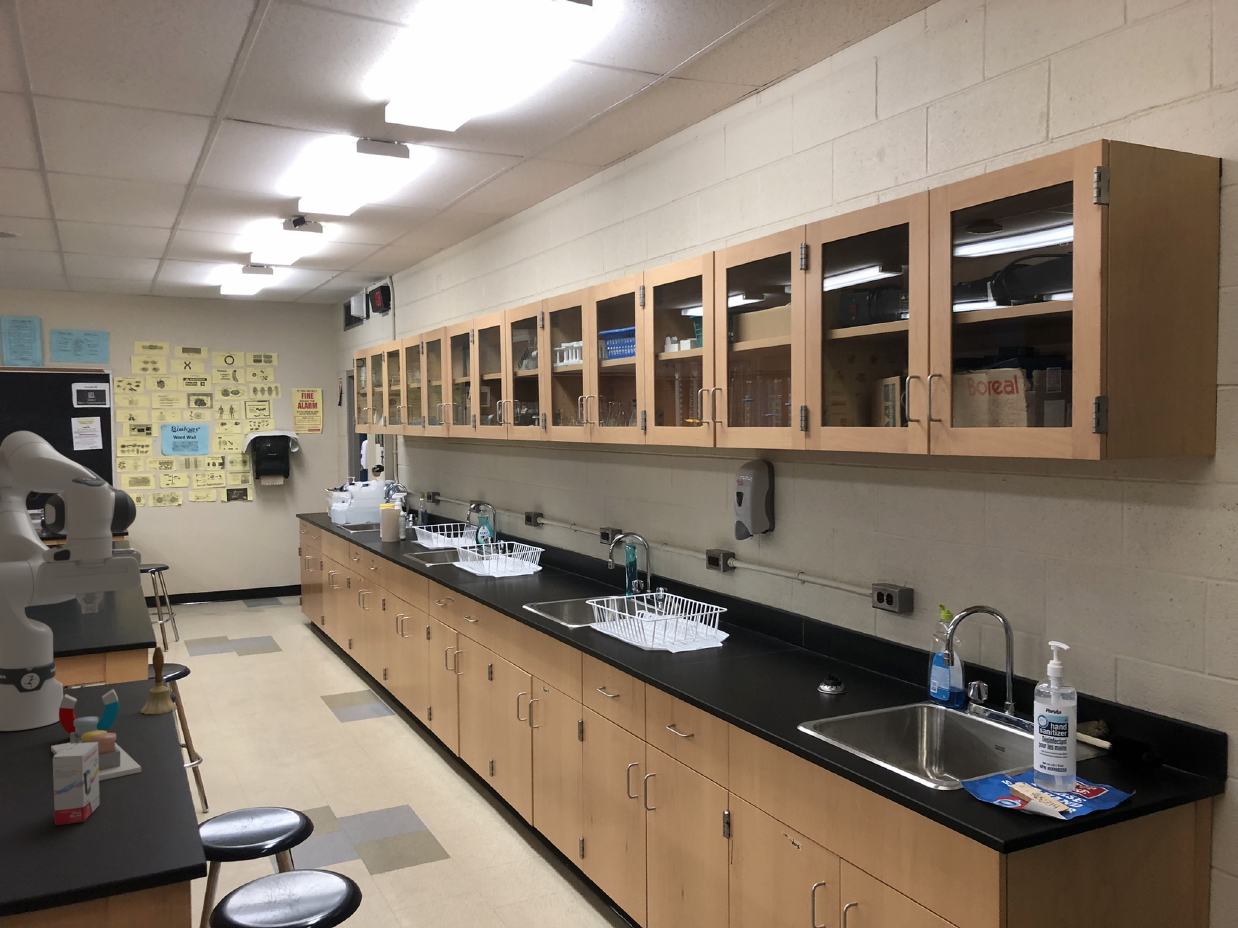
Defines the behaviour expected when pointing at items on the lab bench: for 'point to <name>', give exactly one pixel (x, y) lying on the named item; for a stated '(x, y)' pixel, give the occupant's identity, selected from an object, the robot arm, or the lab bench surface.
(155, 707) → the hand bell
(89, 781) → the ink box
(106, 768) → the console
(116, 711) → the magnet
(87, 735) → the ochre button
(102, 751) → the terracotta button
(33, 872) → the lab bench surface
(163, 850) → the lab bench surface
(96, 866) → the lab bench surface
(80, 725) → the slate button
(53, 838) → the lab bench surface
